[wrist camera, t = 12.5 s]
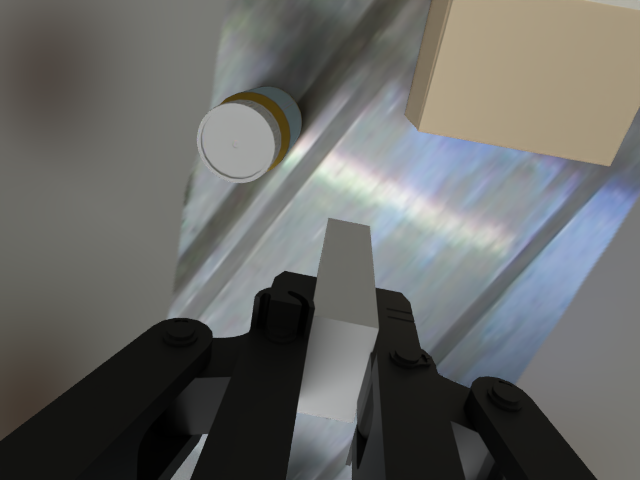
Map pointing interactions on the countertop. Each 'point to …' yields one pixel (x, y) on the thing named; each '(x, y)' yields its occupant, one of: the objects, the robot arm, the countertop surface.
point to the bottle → (249, 133)
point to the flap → (538, 76)
